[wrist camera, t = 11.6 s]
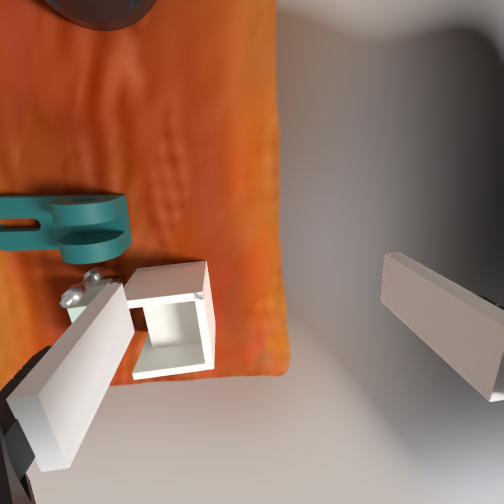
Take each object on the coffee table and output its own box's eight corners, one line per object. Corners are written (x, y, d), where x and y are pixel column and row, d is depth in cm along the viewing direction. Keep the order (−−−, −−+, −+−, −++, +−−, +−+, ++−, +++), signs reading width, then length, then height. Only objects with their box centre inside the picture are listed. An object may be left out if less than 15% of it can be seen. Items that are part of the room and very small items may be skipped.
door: (88, 280, 41) (58, 309, 33) (112, 278, 41) (88, 306, 34) (104, 333, 44) (80, 370, 36) (127, 330, 44) (108, 366, 37)
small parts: (80, 265, 40) (37, 299, 30) (117, 261, 40) (86, 294, 31) (101, 332, 44) (68, 382, 34) (135, 328, 44) (111, 376, 35)
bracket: (125, 194, 38) (102, 204, 30) (132, 242, 40) (112, 263, 32) (-22, 195, 36) (-85, 206, 28) (-6, 245, 38) (-61, 268, 31)
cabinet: (137, 268, 41) (112, 302, 31) (206, 260, 42) (202, 291, 32) (152, 332, 45) (134, 379, 35) (215, 324, 45) (214, 368, 36)
